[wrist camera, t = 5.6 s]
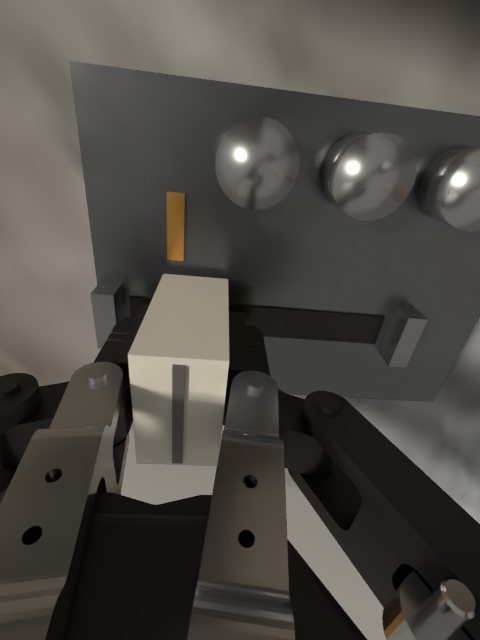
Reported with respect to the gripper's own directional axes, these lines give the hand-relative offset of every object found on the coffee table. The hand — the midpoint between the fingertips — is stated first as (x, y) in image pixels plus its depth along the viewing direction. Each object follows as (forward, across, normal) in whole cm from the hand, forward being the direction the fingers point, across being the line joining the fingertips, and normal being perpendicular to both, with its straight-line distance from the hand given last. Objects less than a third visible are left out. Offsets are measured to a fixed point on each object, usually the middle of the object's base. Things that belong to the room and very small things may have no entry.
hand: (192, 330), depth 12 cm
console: (+3, -4, -2) cm, 6 cm away
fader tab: (+1, 0, 0) cm, 1 cm away
